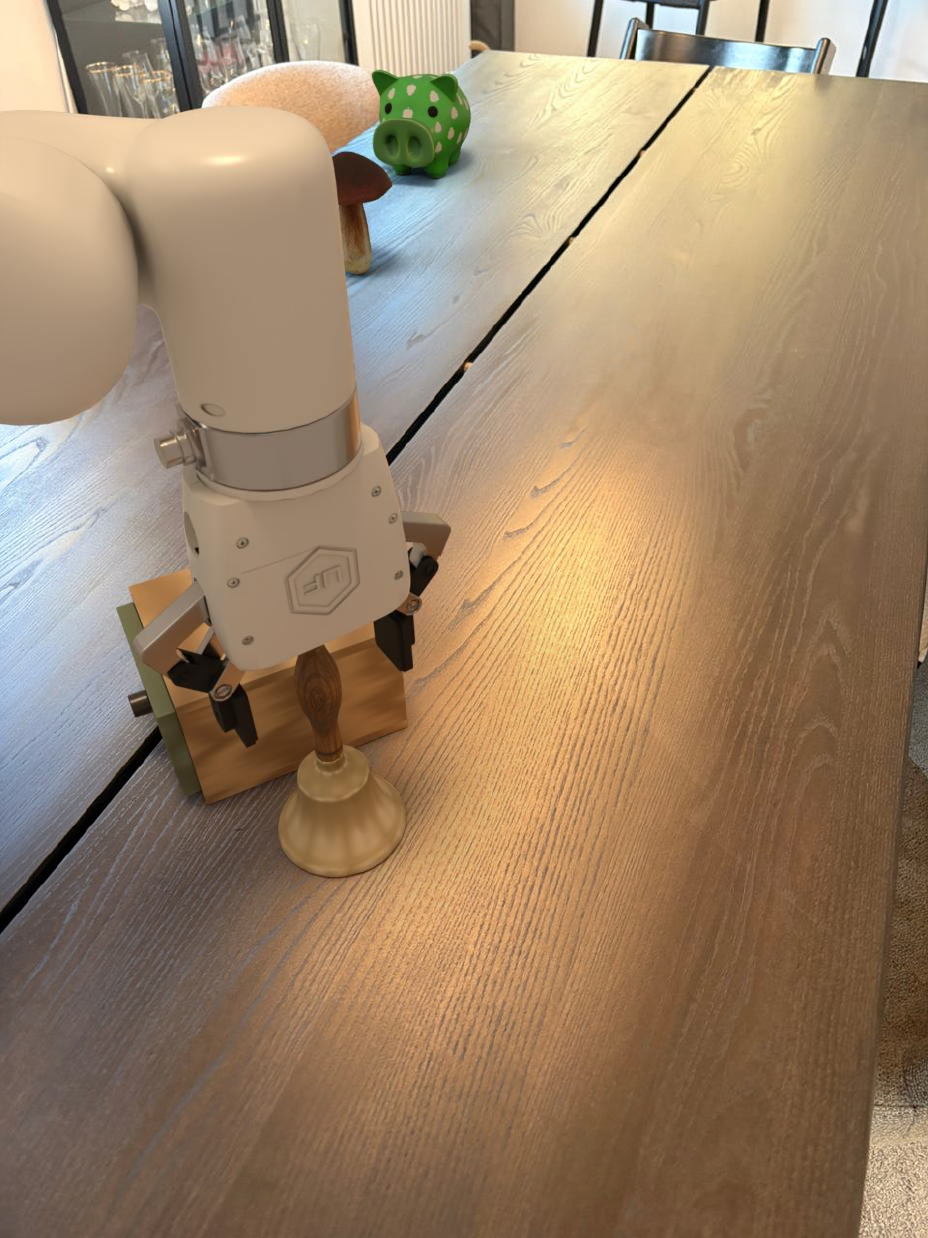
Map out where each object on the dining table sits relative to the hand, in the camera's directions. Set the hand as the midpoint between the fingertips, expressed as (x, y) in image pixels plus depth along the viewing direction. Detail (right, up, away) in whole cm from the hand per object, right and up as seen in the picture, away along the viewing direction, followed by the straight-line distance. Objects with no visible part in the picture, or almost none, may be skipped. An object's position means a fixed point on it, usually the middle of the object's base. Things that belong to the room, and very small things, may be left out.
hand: (320, 692), depth 54 cm
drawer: (-7, -2, +15) cm, 17 cm away
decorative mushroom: (-6, +50, +73) cm, 89 cm away
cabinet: (-5, -2, +16) cm, 17 cm away
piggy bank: (+2, +78, +103) cm, 129 cm away
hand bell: (0, -9, +8) cm, 12 cm away
